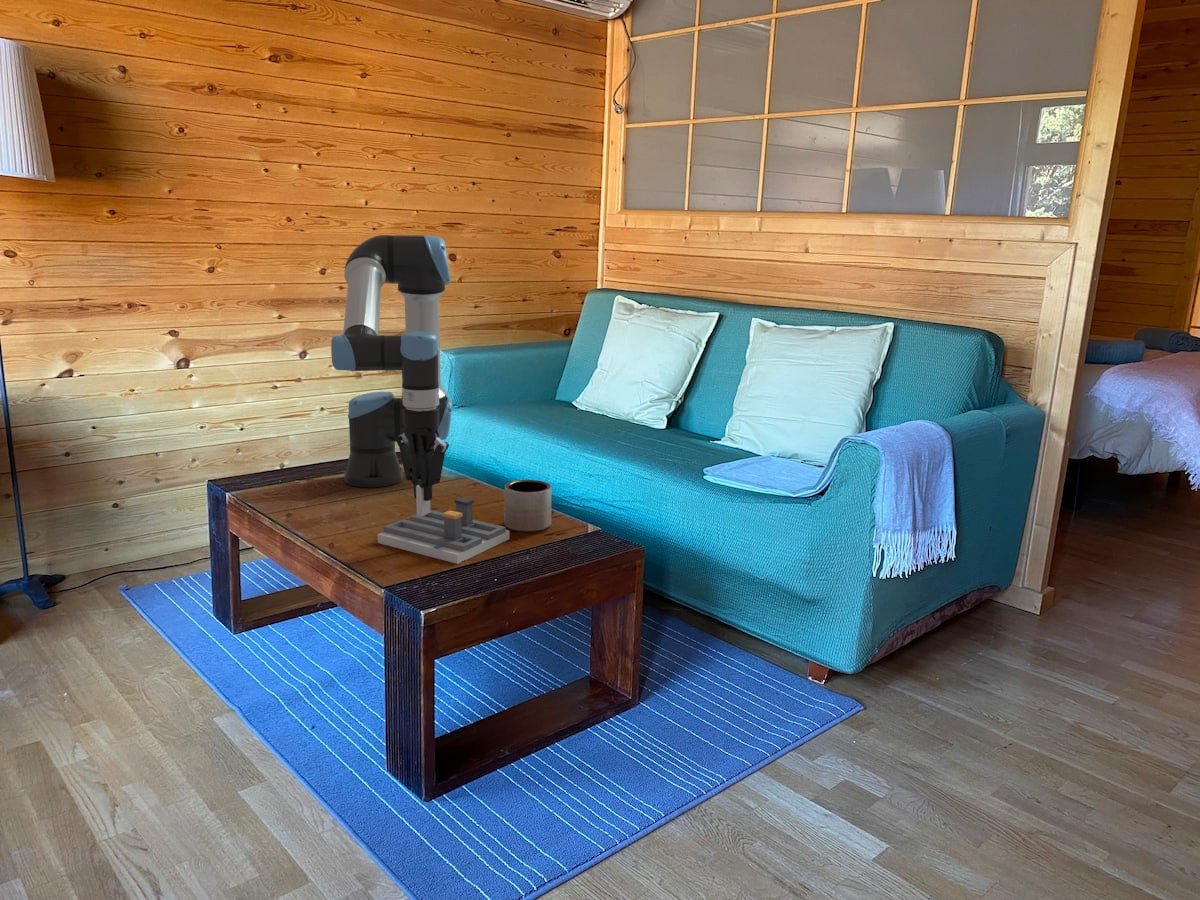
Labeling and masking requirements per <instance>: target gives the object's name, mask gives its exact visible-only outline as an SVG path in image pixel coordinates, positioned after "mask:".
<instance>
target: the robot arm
mask: <svg viewBox="0 0 1200 900" xmlns="http://www.w3.org/2000/svg"><path fill="white" fill-rule="evenodd" d="M450 274H451V273H450V268H449V260H448V253H447V247H446V242H445V240H444V239H443V238H442V237H440V236H431V235H426V234H425V235H424V234H421V235H419V234H418V235H417V234H415V235H413V234H410V235H409V234H408V235H407V234H406V235H405V234H404V235H403V234H402V235H401V234H400V235H399V234H398V235H397V234H396V235H393V234H391V235H390V234H381V235H379V234H378V235H376V236H373V237H370V238H368V239H366V240H364V241H362V242H361V243H360V244H358V245H357V247H356V248H354V249H353V250H352V252H351V253H350V254H349V256H348V257H347V260H346V262H345V266H344V274H343V275H344V279H345V282H346V284H347V290H346V300H345V310H344V321H343V332H342V334H339V335H334V336H333V337H332V339H331V343H330V353H331V354H330V355H331V357H330V358H331V363H332V366H333V368H334V370H337V371H349V372H364V371H365V372H366V371H367V372H368V371H369V372H372V371H387V372H388V371H391V372H392V371H401V381H402V384H401V389H402V390H401V397H395V395H394V393H393V392H390V391H375V392H368V393H364V394H360V395H356V396H355V397H353V398H351V399H350V400H349V402H348V414H347V418H348V425H349V426H348V427H349V457H348V459H347V464H346V469H345V470H344V482H345V484H347V485H349V486H353V487H356V488H357V487H358V488H381V487H388V486H394V485H396V484H399V483H400V482H402V480H403V479H404V478H403V477H404V476H405V479H406V481H410V482H412V485H413V496H414V499H416V501H415V502H416V504H415V505H416V514H417V515H420V516H424V515H426V514H428V513H430V510H431V500H432V499H433V486H434V485H436V484H437V485H438V484H439V483H440V481H441V478H442V472H443V465H444V462H445V457H446V452H447V450H448V448H449V447H450V444H449V442H447V441H444V440H446V439H448V437H449V433H450V428H451V420H452V411H453V399H452V397H449V396H447V391H446V389H445V388H444V387H443V386H442V385H441V348H440V347H441V345H440V344H441V341H440V340H441V339H440V337H441V336H440V332H441V329H440V297H441V296H442V295H443V294H445V291H446V286H447V285H450V284H451V275H450ZM384 284H397V290H398V292H399V294H400V295H401V296H403V298H404V323H405V332H404V333H403V334H402V335H401V334H400V335H399V334H398V335H397V334H396V335H380V314H381V313H380V312H381V292H382V287H383V286H384ZM396 444H397V445H398V449H399V452H400V457H401V461H402V462H401V463H402V467H403V469H402V467H401V466H400V461H399V459H398V456H397V453H396ZM403 471H404V475H403Z"/></svg>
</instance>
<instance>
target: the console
mask: <svg viewBox="0 0 1200 900" xmlns="http://www.w3.org/2000/svg"><path fill="white" fill-rule="evenodd" d="M443 513H444V512H443V511H437V510H433V509H430V513H428V514H426V515H424V516H420V515H417V513H415V514H413V515H410V517H409V519H410V520H409V519H404V518H403V519H400V520H397V521H394V522H392V523H390V524H387V525H384V526H383V532H380V533H378V534H377V544H381V545H384V546H388V547H392V548H395V549H400V550H403V551H407V552H411V553H415V554H419V555H423V556H427V557H430V558H434V559H438V560H442V561H445V562H449V563H453V564H460V563H463V562H465V561H468V559H471V558H473V557H475V556H476V555H477V556H478V555H479V554H482V553H483V552H485V551H487V550H489V549H492V548H494V547H496V546H498V545H500V544H502V543H504V542H506V541H508V540H510V529H509V530H508V529H506V528H507V527H506V526H502V525H497V524H495V523H494V524H493V523H489V522H485V521H481V520H476V519H473V524H475V528H470V527H466V526H462V525H461V532H462V538H464V542H462V543H461V542H457V541H453V540H449V539H445V538H442V537H444V516H443ZM464 560H465V561H464ZM462 561H463V562H462Z"/></svg>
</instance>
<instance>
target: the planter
mask: <svg viewBox="0 0 1200 900" xmlns="http://www.w3.org/2000/svg"><path fill="white" fill-rule="evenodd" d="M503 514H504V517H503V518H504V519H503V522H504V525H505V526H504V527H506V528H508V529H509V530H511V531H515V532H520V533H536V532H541V531H545V530H546V529H548V528H549V527H550V526H551V525H552V485H551V484H550V483H548V482H547V481H543V480H538V479H519V480H512V481H510V482H508V483H506V484H505V485H504V513H503Z"/></svg>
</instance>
